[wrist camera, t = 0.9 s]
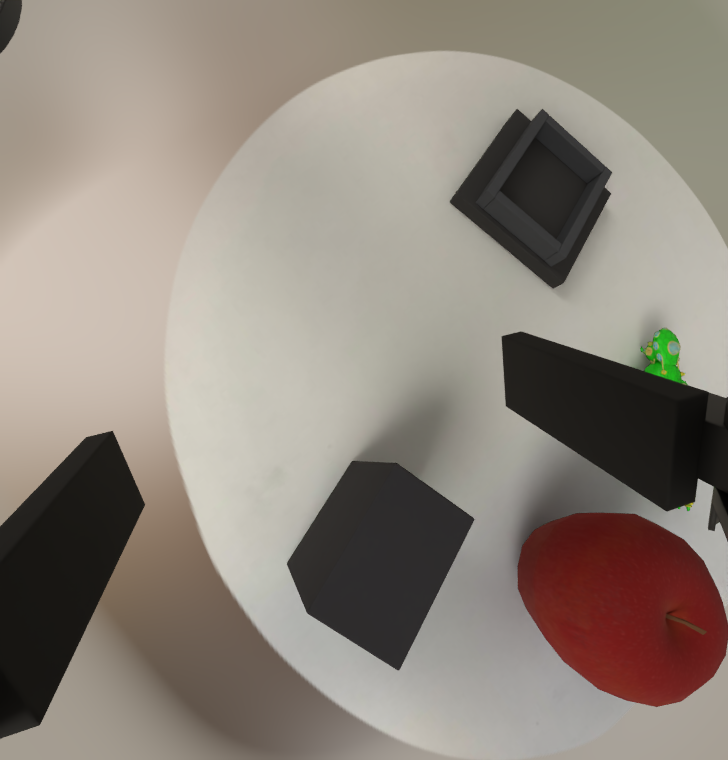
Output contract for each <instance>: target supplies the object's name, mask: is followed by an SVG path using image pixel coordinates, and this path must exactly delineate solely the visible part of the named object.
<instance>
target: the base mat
mask: <svg viewBox="0 0 728 760" xmlns="http://www.w3.org/2000/svg"><path fill="white" fill-rule="evenodd" d="M611 174H612V172H611V171H610V170H609V169H608V168H607V167H605V166H604V165H603V164H602V163H601V162H600V161H599V160H598V159H597V158H596V157H595V156H593V155H592V154H591V153H590V152H589V151H588V150H587V149H586V148H585V147H584V146H582V145H581V144H580V143H579V142H578V141H577V140H576V139H575V138H574V137H573V136H571V135H570V134H569V133H568V132H567V131H566V130H565V129H564V128H563V127H562V126H560V125H559V124H558V123H557V122H556V121H555V120H554V119H553V118H552V117H551V116H549V114H547V113H546V112H545V111H544V110H543V109H542V110H541V111H540V112H539V113H538V114H537V115H536V116H535V118H534V119H533V120H532V121H530V120H529V119H528V118H527V117H526V116H525V115H524V114H522V113H521V112H520V111H519V110H518V109H516V111H515V112H514V113H513V114H512V116H511V117H510V118H509V119H508V121H507V122H506V124H505V125H504V126H503V128H502V129H501V131H500V132H499V133H498V135H497V136H496V138H495V139H494V140H493V142H492V143H491V145H490V146H489V147H488V149H487V150H486V152H485V153H484V154H483V156H482V157H481V159H480V160H479V161H478V163H477V164H476V166H475V167H474V168H473V170H472V171H471V173H470V174H469V175H468V177H467V178H466V180H465V181H464V182H463V184H462V185H461V187H460V188H459V189H458V191H457V192H456V194H455V195H454V196H453V198H452V199H451V201H450V203H452V204H453V205H454V206H455V207H456V208H458V209H459V210H460V211H461V212H462V213H464V214H465V215H466V216H467V217H468V218H470V219H471V220H472V221H473V222H474V223H475V224H477V225H478V226H479V227H480V228H481V229H483V230H484V231H485V232H486V233H487V234H489V235H490V236H491V237H492V238H493V239H495V240H496V241H497V242H498V243H499V244H501V245H502V246H503V247H504V248H505V249H507V250H508V251H509V252H510V253H511V254H513V255H514V256H515V257H516V258H517V259H519V260H520V261H521V262H522V263H523V264H525V265H526V266H527V267H528V268H529V269H530V270H532V271H533V272H534V273H535V274H536V275H538V276H539V277H540V278H541V279H542V280H544V281H545V282H546V283H547V284H548V285H550V286H551V287H552V288H555V287H557V286H559V285H561V284H563V283H564V281H565V280H566V278H567V276H568V274H569V272H570V270H571V268H572V266H573V264H574V263H575V261H576V259H577V257H578V255H579V253H580V251H581V249H582V247H583V246H584V244H585V242H586V240H587V238H588V236H589V234H590V232H591V230H592V229H593V227H594V225H595V223H596V221H597V219H598V217H599V215H600V213H601V212H602V210H603V208H604V206H605V204H606V202H607V200H608V198H609V196H610V195H611V193H610V192H609V191H608V190H607V189H606V188H605V185H606V183H607V181H608V179H609V178H610V176H611Z"/></svg>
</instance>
